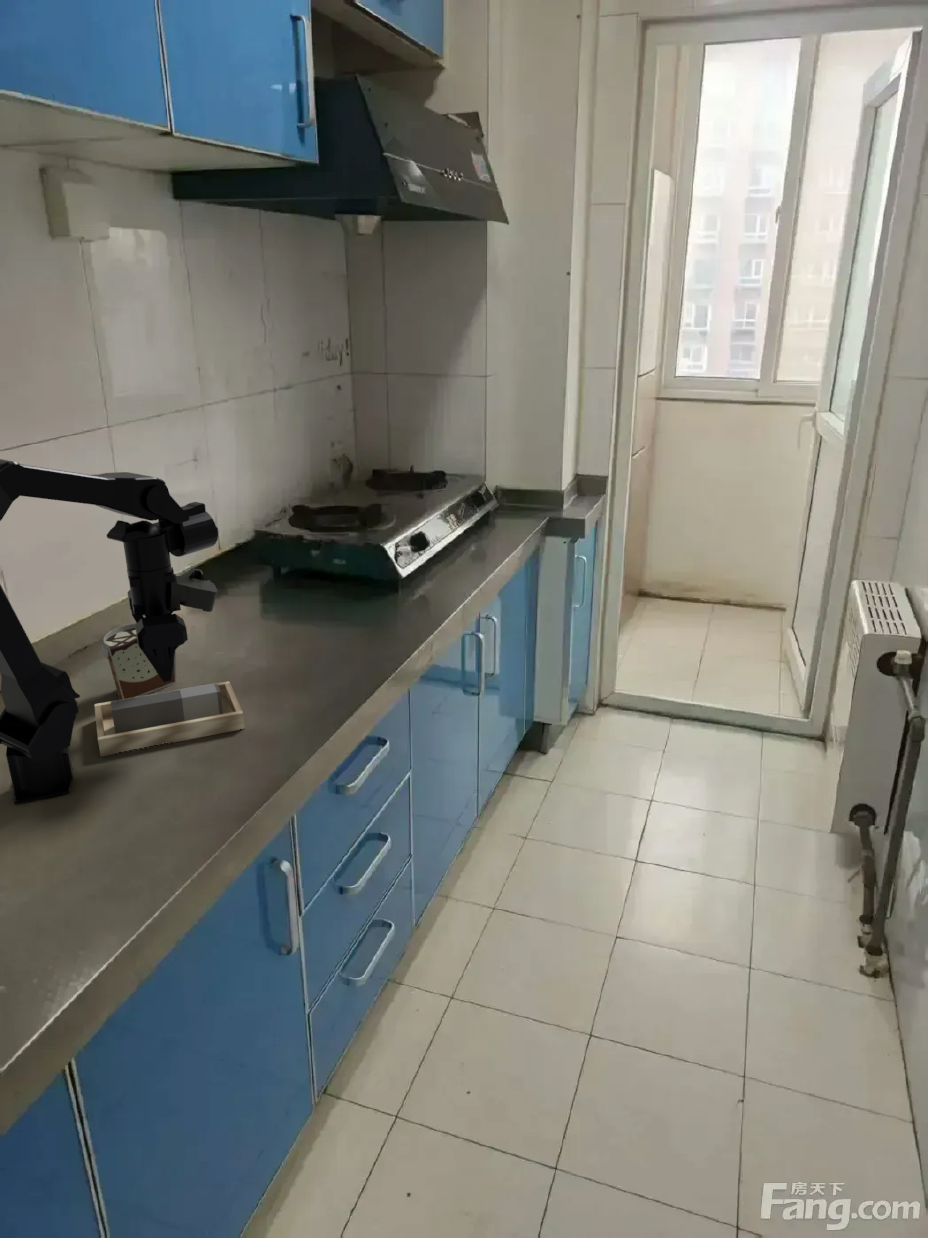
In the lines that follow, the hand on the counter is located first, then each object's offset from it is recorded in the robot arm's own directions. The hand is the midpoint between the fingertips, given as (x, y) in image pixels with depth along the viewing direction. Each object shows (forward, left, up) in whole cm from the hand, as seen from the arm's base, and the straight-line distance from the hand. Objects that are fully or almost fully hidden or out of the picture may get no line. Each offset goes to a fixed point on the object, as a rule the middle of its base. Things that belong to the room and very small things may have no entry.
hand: (163, 668), depth 123 cm
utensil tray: (0, 0, -9) cm, 9 cm away
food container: (-3, +15, -9) cm, 18 cm away
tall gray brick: (0, 0, -8) cm, 8 cm away
